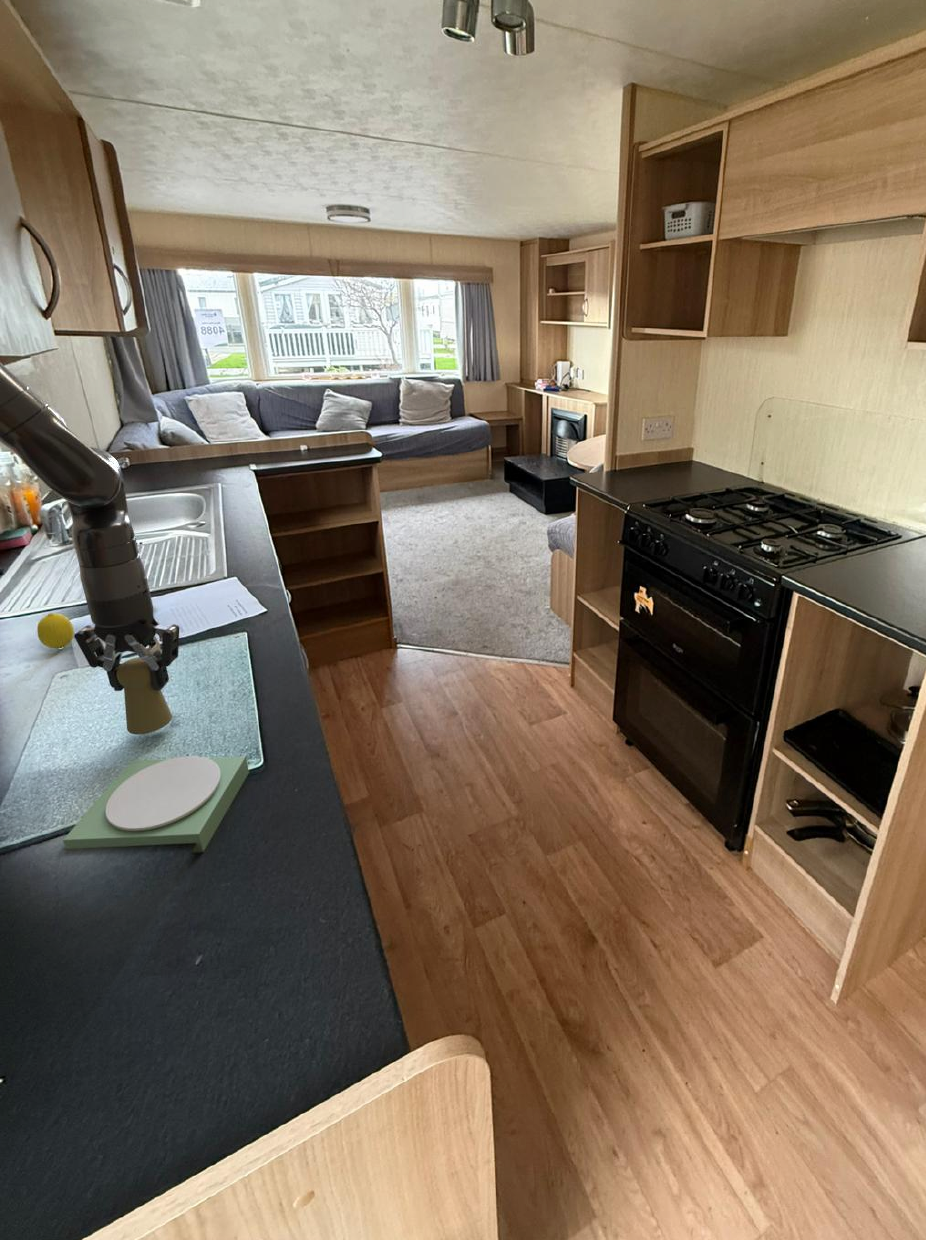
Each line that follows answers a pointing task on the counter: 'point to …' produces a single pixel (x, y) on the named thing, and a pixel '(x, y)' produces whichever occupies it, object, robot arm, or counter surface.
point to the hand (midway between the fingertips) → (141, 687)
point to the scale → (162, 803)
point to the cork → (142, 698)
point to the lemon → (55, 630)
